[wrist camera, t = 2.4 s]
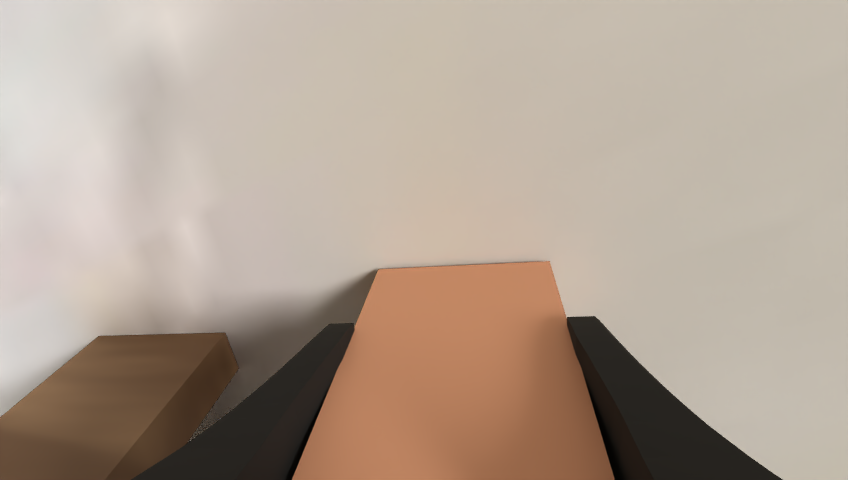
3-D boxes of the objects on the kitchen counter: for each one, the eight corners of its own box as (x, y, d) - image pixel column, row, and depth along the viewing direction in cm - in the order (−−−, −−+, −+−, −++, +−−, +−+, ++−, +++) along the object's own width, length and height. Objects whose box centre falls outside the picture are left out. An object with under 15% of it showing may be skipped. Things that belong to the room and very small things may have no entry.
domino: (238, 368, 16) (-4, 717, 8) (116, 370, 17) (-217, 690, 9) (225, 332, 15) (-55, 674, 7) (98, 335, 16) (-282, 648, 8)
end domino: (548, 308, 13) (659, 749, 5) (386, 313, 14) (260, 706, 6) (549, 261, 13) (675, 684, 4) (378, 269, 13) (224, 644, 5)
